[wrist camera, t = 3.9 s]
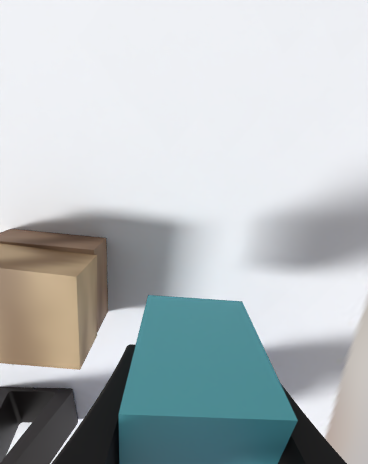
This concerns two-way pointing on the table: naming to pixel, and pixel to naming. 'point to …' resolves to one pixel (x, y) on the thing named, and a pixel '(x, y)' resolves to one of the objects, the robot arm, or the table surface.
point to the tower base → (70, 245)
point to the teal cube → (201, 389)
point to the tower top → (47, 306)
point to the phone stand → (35, 423)
